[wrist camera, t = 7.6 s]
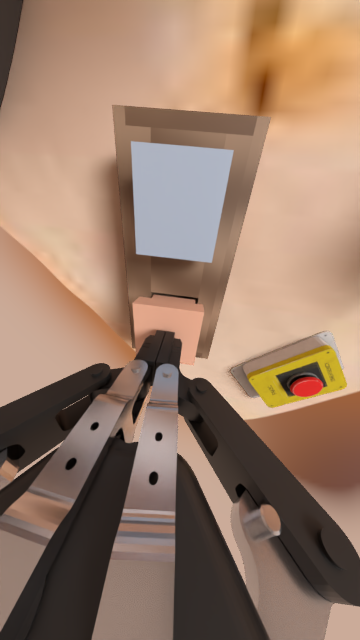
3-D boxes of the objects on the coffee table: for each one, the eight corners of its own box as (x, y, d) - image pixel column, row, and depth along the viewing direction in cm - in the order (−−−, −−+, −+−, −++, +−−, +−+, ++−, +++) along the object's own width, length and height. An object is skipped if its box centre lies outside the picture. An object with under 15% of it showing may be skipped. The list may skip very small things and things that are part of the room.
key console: (135, 145, 12) (112, 105, 9) (248, 155, 12) (270, 117, 8) (142, 331, 22) (132, 348, 18) (205, 340, 21) (207, 358, 18)
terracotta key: (148, 288, 14) (132, 303, 11) (201, 295, 14) (204, 312, 10) (149, 332, 17) (136, 356, 13) (193, 338, 17) (193, 365, 13)
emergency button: (371, 393, 18) (259, 420, 24) (341, 367, 22) (250, 395, 27) (360, 346, 15) (234, 389, 20) (327, 326, 19) (227, 366, 24)
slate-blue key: (152, 176, 11) (130, 141, 8) (220, 182, 11) (233, 150, 7) (152, 252, 14) (136, 254, 10) (207, 258, 14) (211, 262, 10)
